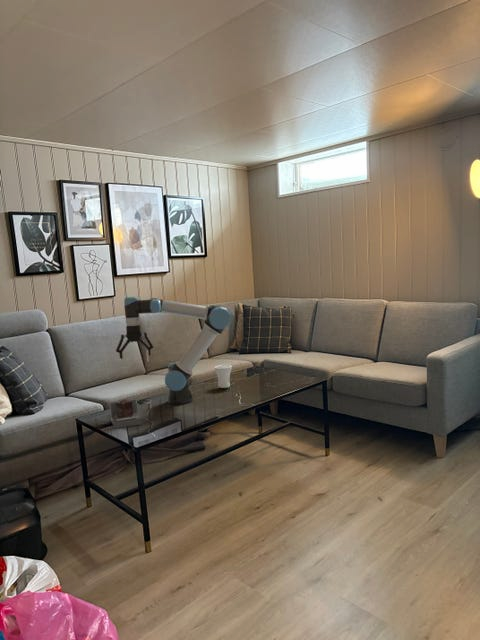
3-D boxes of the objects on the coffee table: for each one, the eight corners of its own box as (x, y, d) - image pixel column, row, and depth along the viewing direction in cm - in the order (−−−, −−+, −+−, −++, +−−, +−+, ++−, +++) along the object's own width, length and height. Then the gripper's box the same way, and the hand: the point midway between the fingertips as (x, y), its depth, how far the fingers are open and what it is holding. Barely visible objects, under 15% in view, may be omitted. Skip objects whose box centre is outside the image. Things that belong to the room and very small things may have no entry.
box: (133, 414, 242) (132, 400, 241) (123, 418, 238) (122, 403, 237) (126, 413, 246) (125, 399, 245) (116, 416, 242) (115, 402, 241)
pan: (134, 413, 248) (134, 411, 248) (137, 417, 240) (137, 416, 240) (114, 416, 244) (114, 414, 244) (117, 421, 236) (116, 419, 236)
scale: (136, 417, 252) (134, 398, 252) (141, 424, 240) (139, 404, 239) (111, 421, 248) (109, 402, 247) (114, 428, 235) (113, 408, 234)
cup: (213, 389, 302) (211, 368, 301) (219, 385, 313) (217, 364, 311) (229, 390, 299) (228, 368, 297) (235, 386, 309) (234, 364, 308)
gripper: (154, 322, 269) (156, 359, 271) (108, 326, 260) (112, 364, 262) (156, 323, 262) (159, 361, 264) (110, 327, 253) (113, 366, 255)
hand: (135, 362), depth 263 cm, fingers open, 13 cm apart
